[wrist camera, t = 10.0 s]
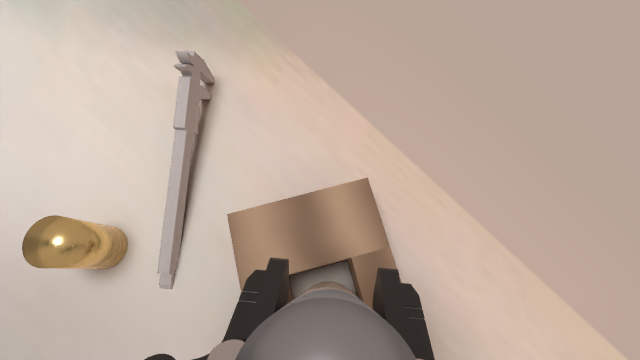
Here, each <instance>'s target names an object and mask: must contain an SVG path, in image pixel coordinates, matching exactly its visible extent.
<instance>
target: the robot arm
mask: <svg viewBox="0 0 640 360" xmlns="http://www.w3.org/2000/svg"><path fill="white" fill-rule="evenodd" d="M288 294H289V259H283V258H272V257H271V258H270V259H269V262H268V265H267V268H266V270H255V271H254V272H253V273H252V274H251V275H250V276H249V277H248V278H247V280H246V282H245V285H244V288H243V291H242V293H241V295H240V298H239V302H238V303H237V306H236V308H235V311H234V314H233V316H232V319H231V321H230V324H229V327H228V329H227V332H226V334H225V337H224V339H223V341H222V342H221V343H220V344H219V345H217V346H216V347H215V348H214V349H213V350H212V351H211V353H210V354H208V355H206V356H204V357H201V358H197V359H193V360H235V359H236V357H237V355H238V353H239V351H240V349H241V348H242V346H243V345H244V343H245V342H246V340H247V339H248V337H249V336H250V335H251V334H252V333H253V332H254V330H255V329H256V328H257V327H258V326H259V325H260V324H261V323H262V322H264V321H265V320H266V319H267V318H268V317H270V316H271V315H273V314H274V313H275V312H277V311H278V310H280V309H281V308H282V307H284V306H285V305H287V301H288ZM373 310H374V311H375V312H376V313H377V314H379V315H380V316H381V317H382V318H383V319H385V320H386V321H387V322H388V323H389V324H390V325H391V326H392V327H393V328H394V329H395V330H396V331H397V332H398V333H399V334H400V335H401V337H402V338H403V339H404V340H405V342H406V343H407V345H408V346H409V348H410V349H411V351H412V352H413V354H414V356H415V358H416V360H435V359H434V355H433V351H432V347H431V343H430V339H429V335H428V331H427V327H426V323H425V320H424V314H423V310H422V306H421V302H420V298H419V295H418V293H417V292H416V291H415V289H414V288H413V287H412V285H411V284H404V283H400V278H399V273H398V270H397V269H391V268H380V267H379V268H378V270H377V276H376V282H375V287H374V293H373ZM145 360H175V358H173V357H172V356H170V355H167V354H157V355H153V356H151V357H148V358H146V359H145Z"/></svg>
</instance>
